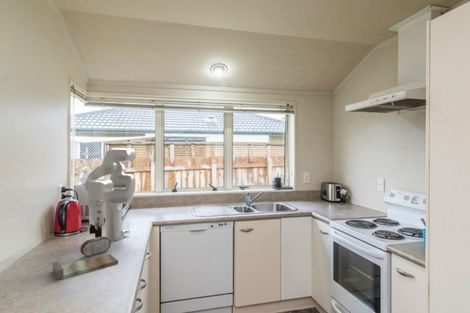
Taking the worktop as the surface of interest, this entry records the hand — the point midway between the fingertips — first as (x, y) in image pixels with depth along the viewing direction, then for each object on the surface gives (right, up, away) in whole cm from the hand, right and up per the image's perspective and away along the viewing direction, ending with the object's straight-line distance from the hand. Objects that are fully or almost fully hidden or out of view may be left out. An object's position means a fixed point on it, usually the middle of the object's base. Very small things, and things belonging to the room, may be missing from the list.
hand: (95, 235), depth 142 cm
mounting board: (+5, -11, -15) cm, 19 cm away
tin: (0, -11, +1) cm, 11 cm away
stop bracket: (-4, -11, -24) cm, 26 cm away
